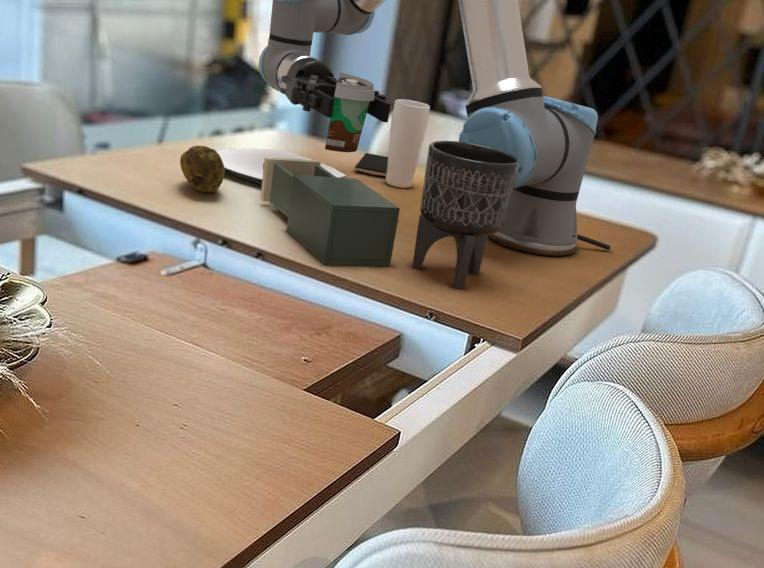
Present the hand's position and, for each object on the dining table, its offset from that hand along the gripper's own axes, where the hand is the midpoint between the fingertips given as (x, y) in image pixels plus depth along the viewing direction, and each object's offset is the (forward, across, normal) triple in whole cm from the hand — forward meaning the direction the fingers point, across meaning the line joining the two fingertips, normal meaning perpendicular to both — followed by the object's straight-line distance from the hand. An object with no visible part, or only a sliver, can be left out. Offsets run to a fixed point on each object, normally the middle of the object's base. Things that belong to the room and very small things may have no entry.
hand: (359, 110), depth 154 cm
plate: (-32, 0, -18) cm, 36 cm away
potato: (-17, +18, -18) cm, 31 cm away
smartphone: (-42, -25, -18) cm, 52 cm away
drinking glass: (-30, -24, -18) cm, 43 cm away
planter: (+22, -8, -18) cm, 30 cm away
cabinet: (+11, +5, -18) cm, 22 cm away
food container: (-5, -1, -7) cm, 8 cm away
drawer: (-7, +5, -17) cm, 19 cm away
